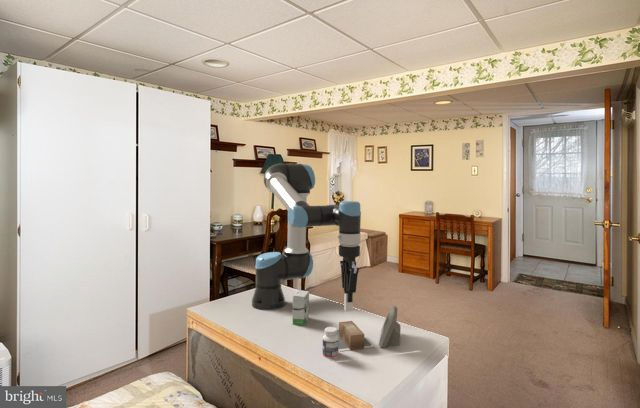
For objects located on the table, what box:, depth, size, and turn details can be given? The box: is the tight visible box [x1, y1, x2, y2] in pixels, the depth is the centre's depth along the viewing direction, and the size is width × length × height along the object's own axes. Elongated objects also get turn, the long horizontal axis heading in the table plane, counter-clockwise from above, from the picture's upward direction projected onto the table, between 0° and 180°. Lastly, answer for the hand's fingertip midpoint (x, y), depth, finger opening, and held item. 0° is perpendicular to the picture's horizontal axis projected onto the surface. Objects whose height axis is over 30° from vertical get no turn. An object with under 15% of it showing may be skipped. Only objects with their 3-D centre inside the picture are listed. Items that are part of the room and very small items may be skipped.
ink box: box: [292, 289, 310, 326], centre depth 145 cm, size 9×5×12 cm, turn 168°
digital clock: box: [378, 305, 401, 349], centre depth 129 cm, size 16×9×11 cm, turn 154°
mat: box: [337, 329, 374, 352], centre depth 129 cm, size 17×12×1 cm
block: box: [338, 320, 365, 351], centre depth 127 cm, size 5×5×12 cm
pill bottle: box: [322, 326, 340, 359], centre depth 117 cm, size 5×5×9 cm
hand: (348, 309), depth 129 cm, fingers closed
